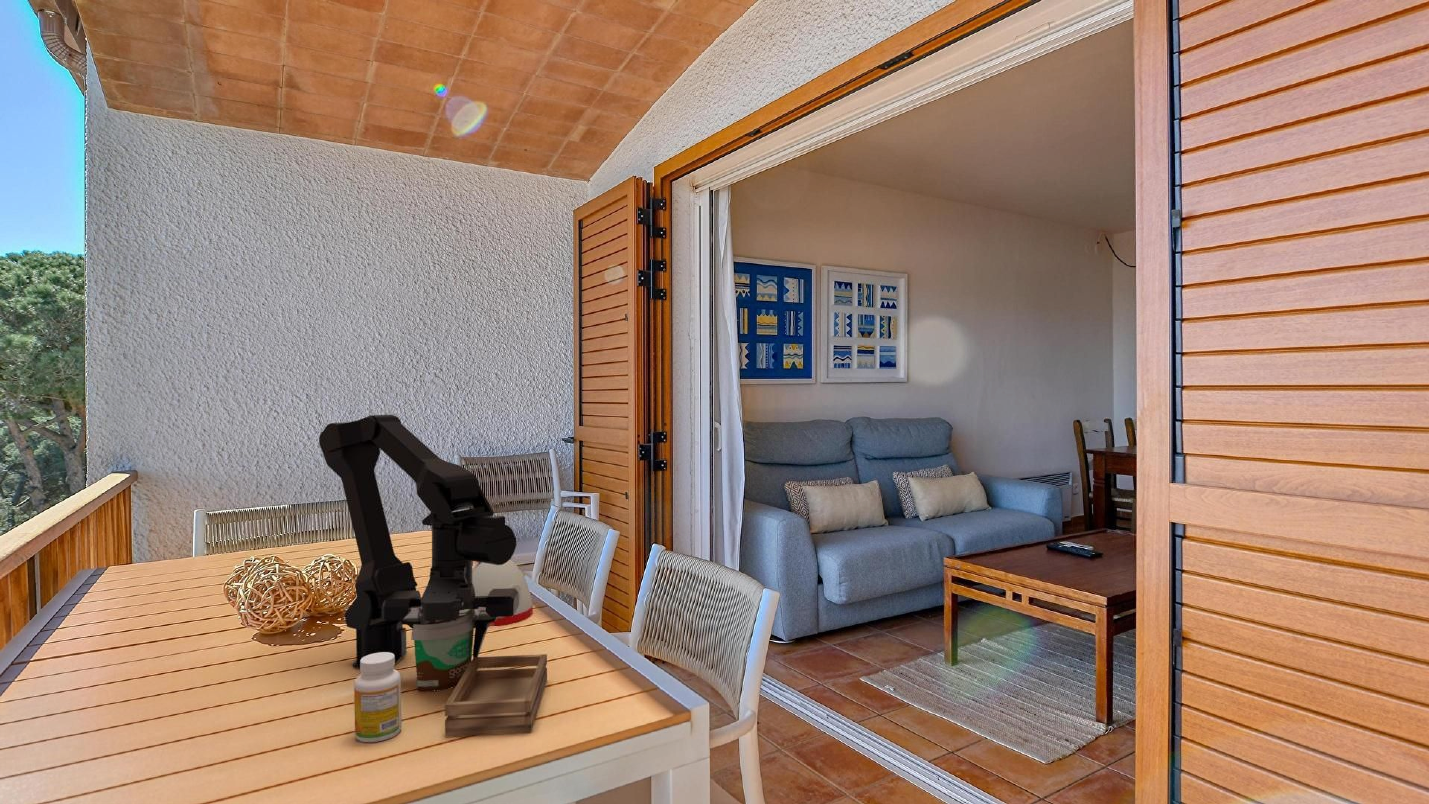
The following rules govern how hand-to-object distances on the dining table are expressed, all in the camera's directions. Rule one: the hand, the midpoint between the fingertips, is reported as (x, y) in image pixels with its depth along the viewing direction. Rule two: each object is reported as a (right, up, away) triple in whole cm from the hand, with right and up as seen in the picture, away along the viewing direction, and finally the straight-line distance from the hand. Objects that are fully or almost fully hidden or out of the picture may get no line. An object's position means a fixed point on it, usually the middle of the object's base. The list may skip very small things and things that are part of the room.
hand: (452, 660), depth 111 cm
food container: (0, -3, 0) cm, 3 cm away
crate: (+10, -3, -9) cm, 14 cm away
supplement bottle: (-3, -4, -17) cm, 18 cm away
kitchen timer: (-3, -3, +32) cm, 32 cm away
